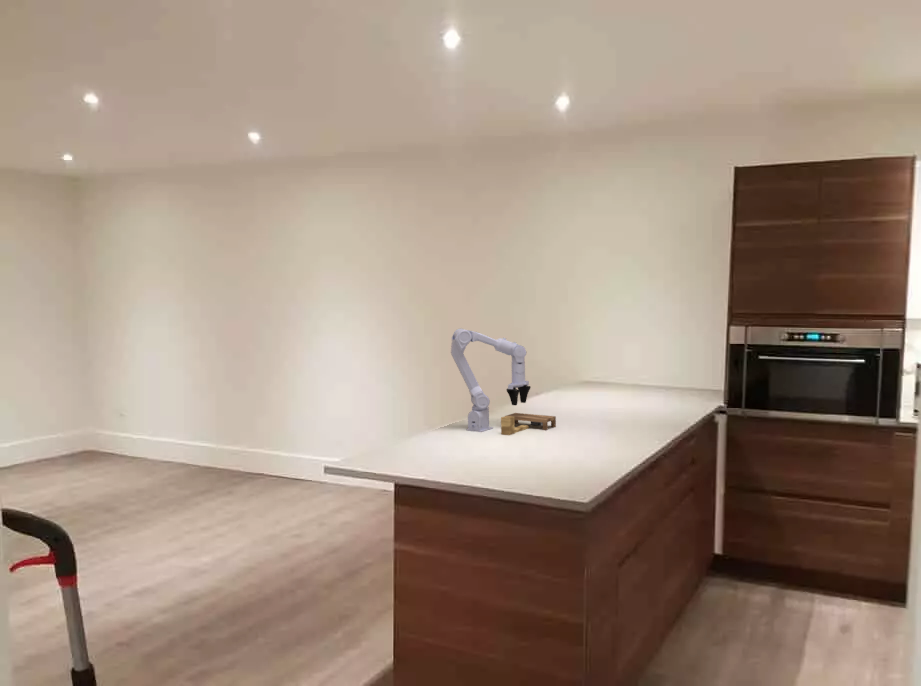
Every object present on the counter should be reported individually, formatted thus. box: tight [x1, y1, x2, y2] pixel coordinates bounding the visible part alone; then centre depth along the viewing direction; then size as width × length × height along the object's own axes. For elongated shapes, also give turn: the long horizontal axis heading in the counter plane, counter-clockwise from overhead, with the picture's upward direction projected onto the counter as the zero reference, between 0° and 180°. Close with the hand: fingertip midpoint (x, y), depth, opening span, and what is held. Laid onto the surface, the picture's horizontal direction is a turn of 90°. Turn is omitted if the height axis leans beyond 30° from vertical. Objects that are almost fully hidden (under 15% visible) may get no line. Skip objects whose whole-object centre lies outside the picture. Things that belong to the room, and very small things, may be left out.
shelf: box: [505, 412, 557, 431], centre depth 323 cm, size 9×20×4 cm, turn 55°
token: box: [530, 421, 543, 426], centre depth 329 cm, size 5×5×2 cm
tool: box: [500, 415, 530, 436], centre depth 313 cm, size 17×4×7 cm, turn 145°
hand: (518, 403), depth 323 cm, fingers open, 7 cm apart
